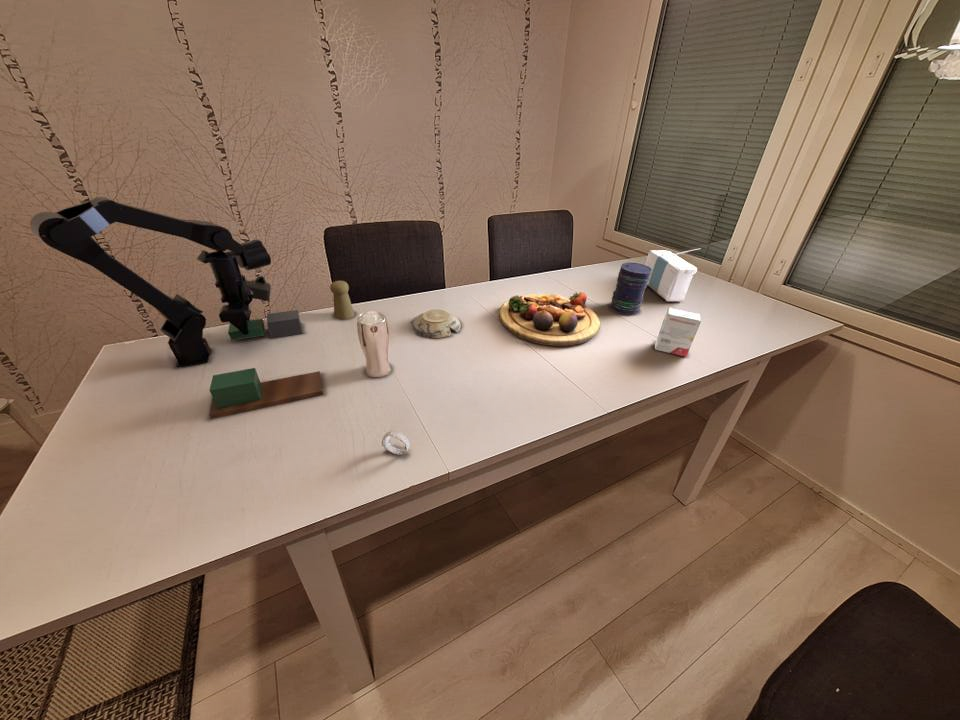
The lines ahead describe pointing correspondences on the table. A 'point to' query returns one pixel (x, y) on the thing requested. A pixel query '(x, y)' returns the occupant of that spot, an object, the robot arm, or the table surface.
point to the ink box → (677, 332)
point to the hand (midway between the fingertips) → (247, 329)
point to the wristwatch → (399, 436)
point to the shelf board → (276, 393)
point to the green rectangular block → (254, 330)
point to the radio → (669, 274)
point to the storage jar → (630, 288)
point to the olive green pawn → (341, 300)
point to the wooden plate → (550, 319)
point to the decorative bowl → (436, 324)
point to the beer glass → (374, 342)
